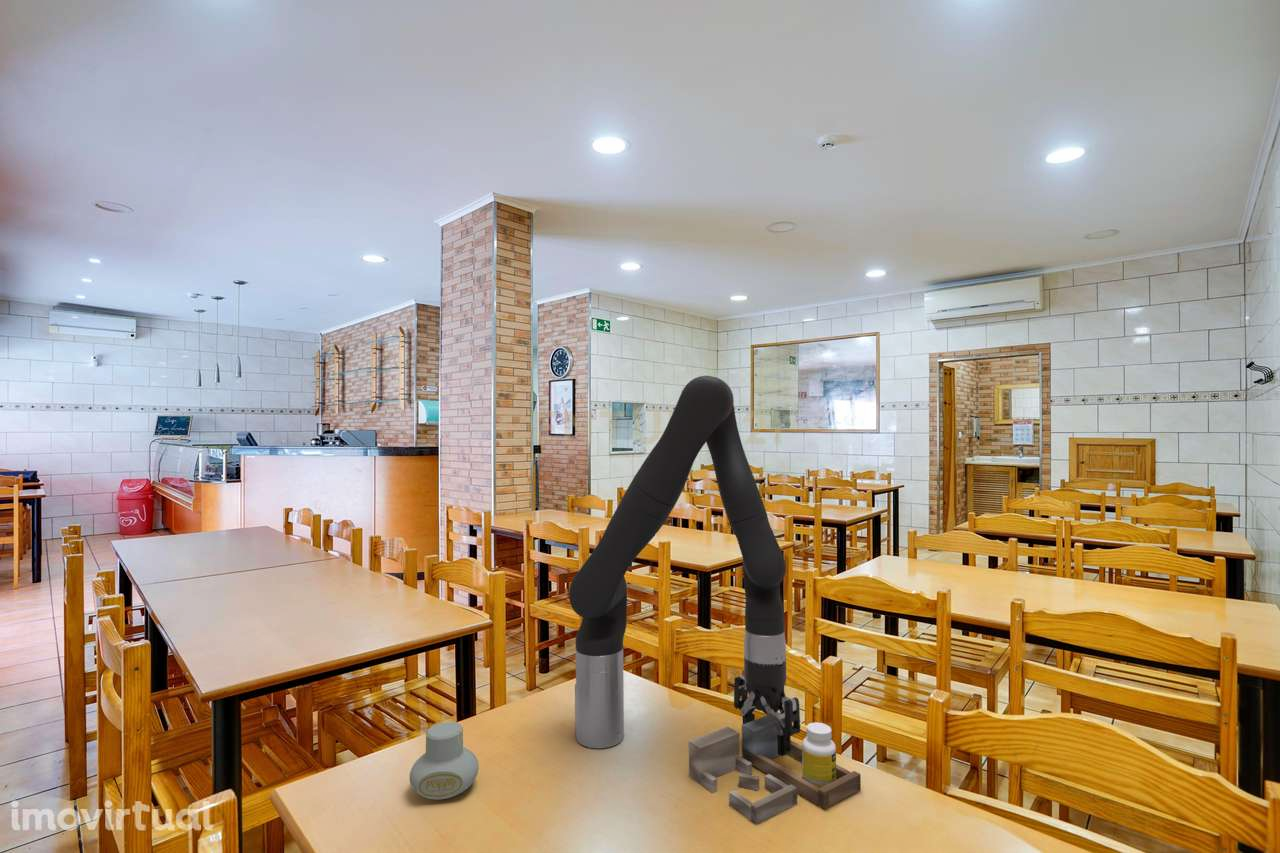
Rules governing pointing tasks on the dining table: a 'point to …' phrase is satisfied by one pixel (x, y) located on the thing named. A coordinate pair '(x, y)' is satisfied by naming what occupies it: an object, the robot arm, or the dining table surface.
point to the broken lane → (723, 756)
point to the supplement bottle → (818, 755)
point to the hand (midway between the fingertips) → (765, 744)
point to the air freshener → (444, 764)
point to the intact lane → (763, 747)
